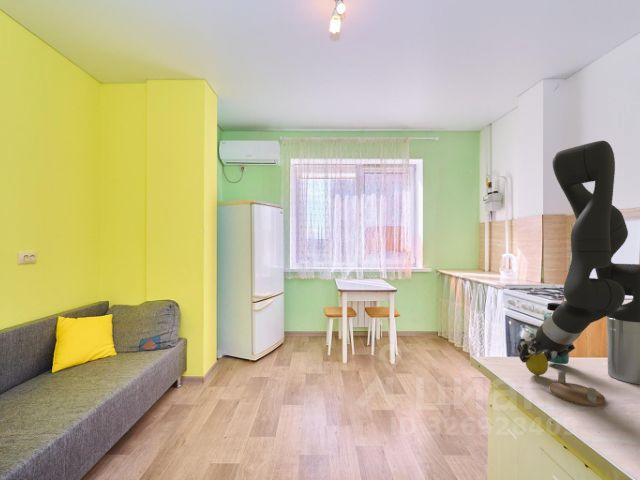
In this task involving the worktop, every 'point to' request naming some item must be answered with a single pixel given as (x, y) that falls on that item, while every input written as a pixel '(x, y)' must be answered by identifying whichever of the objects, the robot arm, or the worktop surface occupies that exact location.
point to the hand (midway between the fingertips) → (532, 359)
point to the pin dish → (576, 392)
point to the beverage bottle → (557, 359)
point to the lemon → (537, 364)
